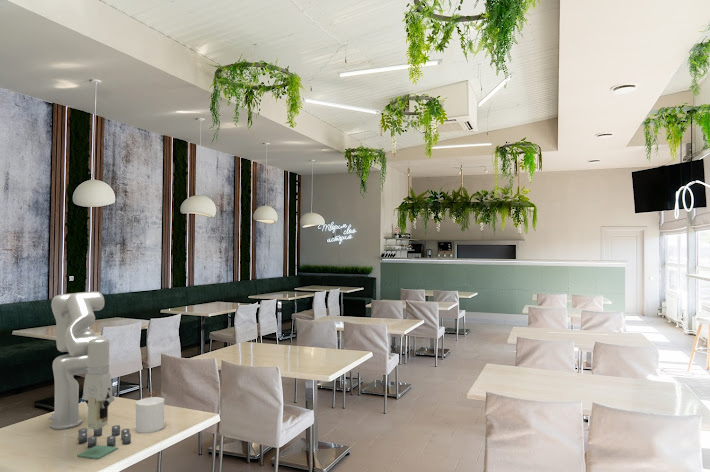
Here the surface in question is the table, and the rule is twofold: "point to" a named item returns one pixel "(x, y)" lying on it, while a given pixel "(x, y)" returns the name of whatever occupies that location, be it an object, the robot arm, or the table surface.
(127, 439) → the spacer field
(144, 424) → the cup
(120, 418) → the table surface
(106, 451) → the coaster
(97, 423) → the skincare box
